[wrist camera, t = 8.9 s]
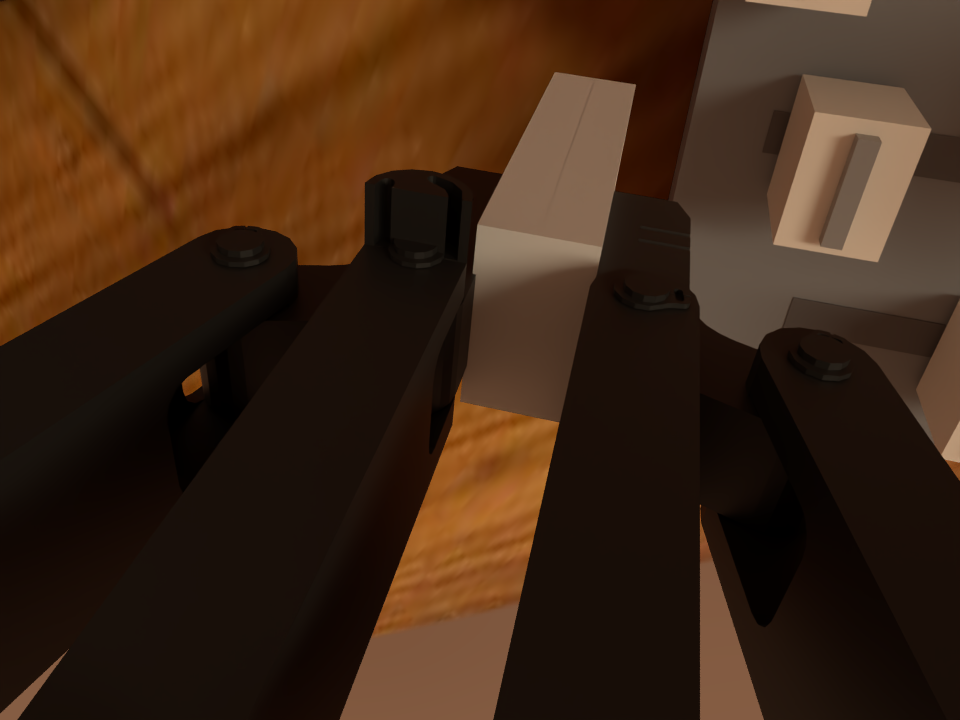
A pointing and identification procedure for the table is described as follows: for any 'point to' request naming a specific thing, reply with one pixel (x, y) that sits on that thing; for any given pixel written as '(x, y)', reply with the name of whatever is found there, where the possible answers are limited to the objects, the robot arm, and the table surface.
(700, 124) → the switch unit
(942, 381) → the knob far
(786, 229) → the knob mid
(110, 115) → the table surface
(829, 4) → the knob near
